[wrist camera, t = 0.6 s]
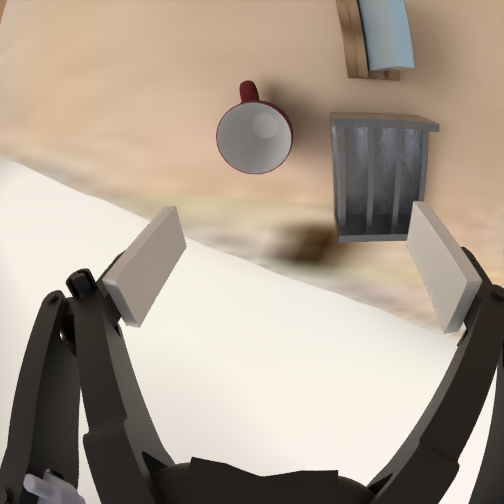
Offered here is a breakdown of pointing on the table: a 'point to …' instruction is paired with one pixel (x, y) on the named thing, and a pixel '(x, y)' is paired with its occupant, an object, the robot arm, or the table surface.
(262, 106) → the mug
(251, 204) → the table surface
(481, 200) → the table surface
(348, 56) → the stand
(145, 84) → the table surface
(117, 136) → the table surface
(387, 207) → the rack
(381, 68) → the light blue slab
